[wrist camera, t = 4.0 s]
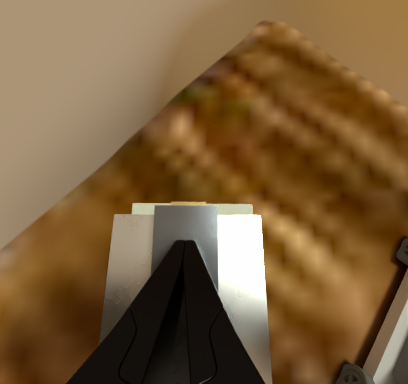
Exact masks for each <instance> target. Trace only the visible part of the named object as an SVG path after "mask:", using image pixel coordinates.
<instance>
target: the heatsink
mask: <svg viewBox="0 0 408 384" xmlns="http://www.w3.org/2000/svg"><path fill="white" fill-rule="evenodd" d="M171 205H187V206H206V202H171ZM153 226H154V215H144V214H114V222H113V231H112V239H111V247H110V255H109V264H108V272H107V280H106V289H105V297H104V305H103V314H102V322H101V330H100V339H99V345H100V343H101V342H102V341H103V340H104V339H105V337H106V336H107V335H108V334H109V332H110V331H111V330H112V329H113V327H114V326H115V325H116V323H117V322H118V321H119V319H120V318H121V317H122V315H123V314H124V312H125V311H126V310H127V308H128V307H130V304H131V303H132V301H133V300H134V298H135V297H136V296H137V294H138V293H139V291H140V290H141V289H142V287H143V286H144V284H145V283H146V282H147V280H148V279H149V277H150V276H151V262H152V244H153ZM218 294H219V296H220V298H221V301H222V303H223V305H224V308H225V310H226V312H227V314H228V316H229V318H230V321H231V323H232V325H233V327H234V329H235V331H236V333H237V335H238V337H239V338H240V340H241V342H242V344H243V346H244V348H245V349H246V351H247V353H248V354H249V356H250V358H251V360H252V361H253V363H254V365H255V366H256V368H257V370H258V372H259V373H260V375H261V377H262V378H263V380H264V382H265V384H272V374H271V359H270V345H269V330H268V316H267V301H266V287H265V272H264V258H263V243H262V229H261V215H218Z"/></svg>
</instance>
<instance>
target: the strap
mask: <svg viewBox="0 0 408 384" xmlns="http://www.w3.org/2000/svg"><path fill="white" fill-rule="evenodd" d="M176 240H185V242H186V240H195V242H196V244H197V246H198V248H199V251H200V253H201V255H202V258H203V260H204V262H205V264H206V267H207V269H208V271H209V273H210V276H211V278H212V280H213V283H214V285H215V287H216V289H217V292H218V206H187V205H155V208H154V226H153V244H152V262H151V275H152V273H153V272H154V270H155V269H156V268H157V266H158V265H159V263H160V262H161V261H162V259H163V258H164V256H165V255H166V254H167V252H168V251H169V249H170V248H171V247H172V245H173V244H174V242H175V241H176ZM168 384H190V377H189V360H188V344H187V327H186V311H185V295H184V294H183V300H182V306H181V311H180V317H179V323H178V328H177V334H176V340H175V346H174V351H173V357H172V363H171V369H170V374H169V380H168Z"/></svg>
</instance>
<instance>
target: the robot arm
mask: <svg viewBox="0 0 408 384" xmlns="http://www.w3.org/2000/svg"><path fill="white" fill-rule="evenodd" d="M183 294H184V295H185V311H186V327H187V344H188V360H189V377H190V384H265V382H264V380H263V378H262V377H261V375H260V373H259V372H258V370H257V368H256V366H255V365H254V363H253V361H252V360H251V358H250V356H249V354H248V353H247V351H246V349H245V348H244V346H243V344H242V342H241V340H240V338H239V337H238V335H237V333H236V331H235V329H234V327H233V325H232V323H231V321H230V318H229V316H228V314H227V312H226V310H225V308H224V305H223V303H222V301H221V298H220V296H219V294H218V292H217V289H216V287H215V285H214V283H213V280H212V278H211V276H210V273H209V271H208V269H207V267H206V264H205V262H204V260H203V258H202V255H201V253H200V251H199V248H198V246H197V244H196V242H195V240H186V242H185V240H176V241H175V242H174V244H173V245H172V247H171V248H170V249H169V251H168V252H167V254H166V255H165V256H164V258H163V259H162V261H161V262H160V263H159V265H158V266H157V268H156V269H155V270H154V272H153V273H152V275H151V276H150V277H149V279H148V280H147V282H146V283H145V284H144V286H143V287H142V289H141V290H140V291H139V293H138V294H137V296H136V297H135V298H134V300H133V301H132V303H131V304H130V307H128V308H127V310H126V311H125V312H124V314H123V315H122V317H121V318H120V319H119V321H118V322H117V323H116V325H115V326H114V327H113V329H112V330H111V331H110V332H109V334H108V335H107V336H106V337H105V339H104V340H103V341H102V342H101V343H100V345H99V346H98V347H97V348H96V349H95V351H94V352H93V353H92V354H91V355H90V356H89V358H88V359H87V360H86V361H85V362H84V363H83V365H82V366H81V367H80V368H79V369H78V370H77V372H76V373H75V374H74V375H73V376H72V377H71V379H70V380H69V381H68V382H67V383H66V384H168V380H169V374H170V369H171V363H172V357H173V351H174V346H175V340H176V334H177V328H178V323H179V317H180V311H181V306H182V300H183Z"/></svg>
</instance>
